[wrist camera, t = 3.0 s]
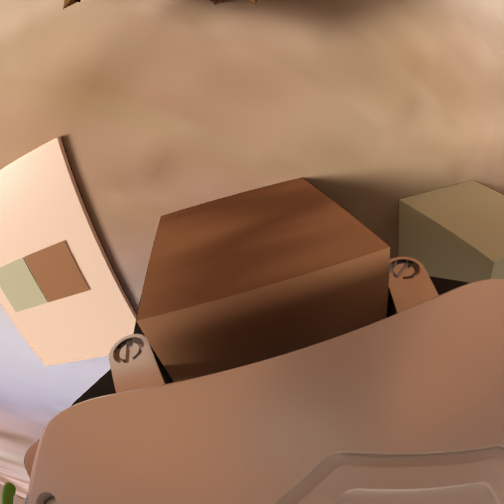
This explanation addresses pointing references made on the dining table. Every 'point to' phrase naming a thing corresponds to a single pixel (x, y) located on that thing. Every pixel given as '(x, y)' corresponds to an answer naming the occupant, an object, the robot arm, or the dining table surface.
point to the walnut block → (259, 279)
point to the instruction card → (56, 263)
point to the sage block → (455, 232)
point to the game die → (71, 0)
